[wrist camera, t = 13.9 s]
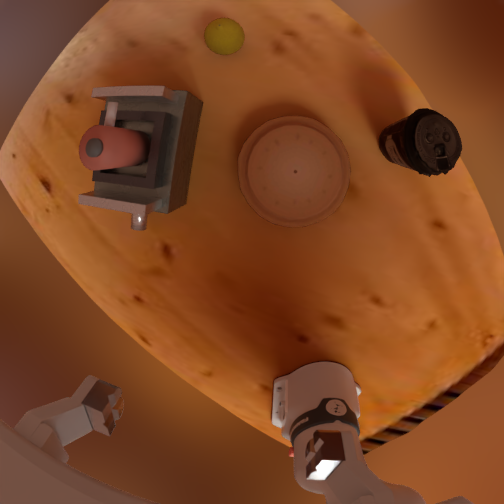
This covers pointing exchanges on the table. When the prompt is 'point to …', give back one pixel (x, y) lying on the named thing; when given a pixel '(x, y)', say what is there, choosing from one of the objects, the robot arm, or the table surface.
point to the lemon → (224, 36)
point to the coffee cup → (422, 142)
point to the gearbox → (160, 156)
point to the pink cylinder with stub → (113, 144)
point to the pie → (293, 171)
